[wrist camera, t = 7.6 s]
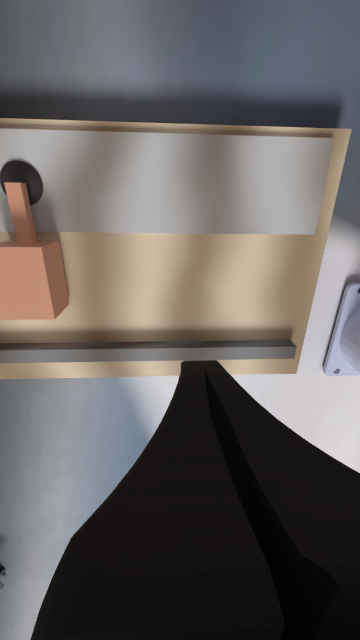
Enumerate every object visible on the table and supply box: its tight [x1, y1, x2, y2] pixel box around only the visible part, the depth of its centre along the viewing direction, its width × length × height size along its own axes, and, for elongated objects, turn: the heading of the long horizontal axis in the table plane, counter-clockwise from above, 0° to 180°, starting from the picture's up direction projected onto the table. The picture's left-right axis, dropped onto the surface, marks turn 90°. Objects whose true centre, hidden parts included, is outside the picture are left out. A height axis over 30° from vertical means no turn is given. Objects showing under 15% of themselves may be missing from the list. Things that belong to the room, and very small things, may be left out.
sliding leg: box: [0, 182, 69, 320], centre depth 15 cm, size 3×7×2 cm, turn 179°
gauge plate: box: [0, 118, 351, 379], centre depth 17 cm, size 28×16×4 cm, turn 89°
